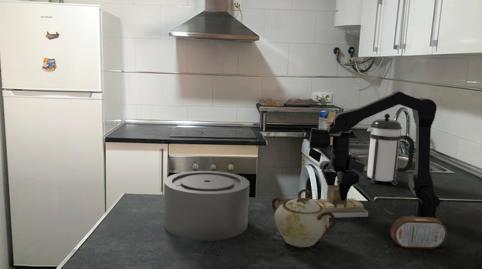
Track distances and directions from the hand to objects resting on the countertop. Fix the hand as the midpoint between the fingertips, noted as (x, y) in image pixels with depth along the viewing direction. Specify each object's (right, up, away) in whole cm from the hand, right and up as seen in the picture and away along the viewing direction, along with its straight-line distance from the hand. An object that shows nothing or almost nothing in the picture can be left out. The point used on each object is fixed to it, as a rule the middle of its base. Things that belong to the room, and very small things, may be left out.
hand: (336, 196), depth 141 cm
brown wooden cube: (0, -2, 0) cm, 2 cm away
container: (-43, -7, -14) cm, 45 cm away
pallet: (0, -4, +1) cm, 4 cm away
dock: (0, -6, +1) cm, 6 cm away
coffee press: (+31, 0, +45) cm, 54 cm away
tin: (+17, -11, -24) cm, 31 cm away
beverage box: (+22, +13, +128) cm, 130 cm away
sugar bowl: (-16, -9, -24) cm, 30 cm away
